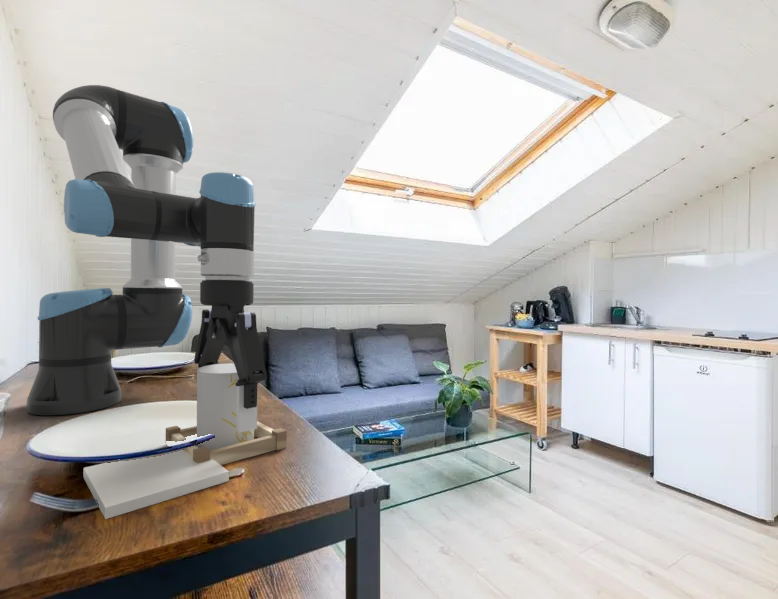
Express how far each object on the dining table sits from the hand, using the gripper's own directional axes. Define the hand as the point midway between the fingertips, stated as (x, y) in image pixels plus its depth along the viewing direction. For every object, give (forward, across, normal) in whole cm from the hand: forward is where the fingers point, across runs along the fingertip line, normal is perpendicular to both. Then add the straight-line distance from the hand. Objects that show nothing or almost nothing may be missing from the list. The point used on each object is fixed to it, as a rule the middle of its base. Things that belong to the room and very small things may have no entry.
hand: (226, 419), depth 63 cm
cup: (+4, 0, 0) cm, 4 cm away
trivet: (+4, +5, -11) cm, 13 cm away
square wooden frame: (+4, 0, 0) cm, 4 cm away
